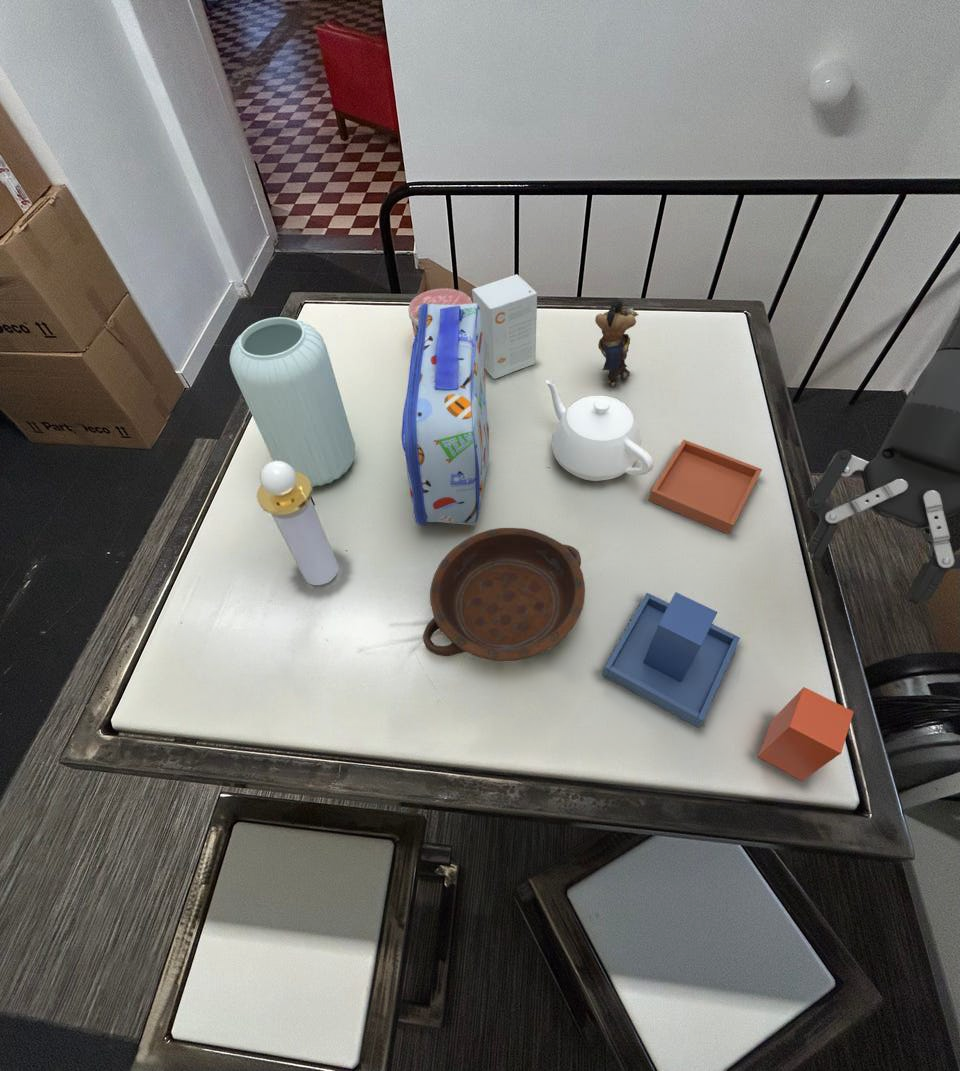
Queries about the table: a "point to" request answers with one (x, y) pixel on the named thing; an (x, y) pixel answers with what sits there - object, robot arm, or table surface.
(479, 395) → the lunch box
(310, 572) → the perfume bottle
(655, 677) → the blue tray
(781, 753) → the terracotta block
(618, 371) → the figurine
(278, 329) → the vase
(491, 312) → the small box
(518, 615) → the dish
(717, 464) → the terracotta tray
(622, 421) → the teapot
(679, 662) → the blue block
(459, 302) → the container
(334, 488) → the table surface
